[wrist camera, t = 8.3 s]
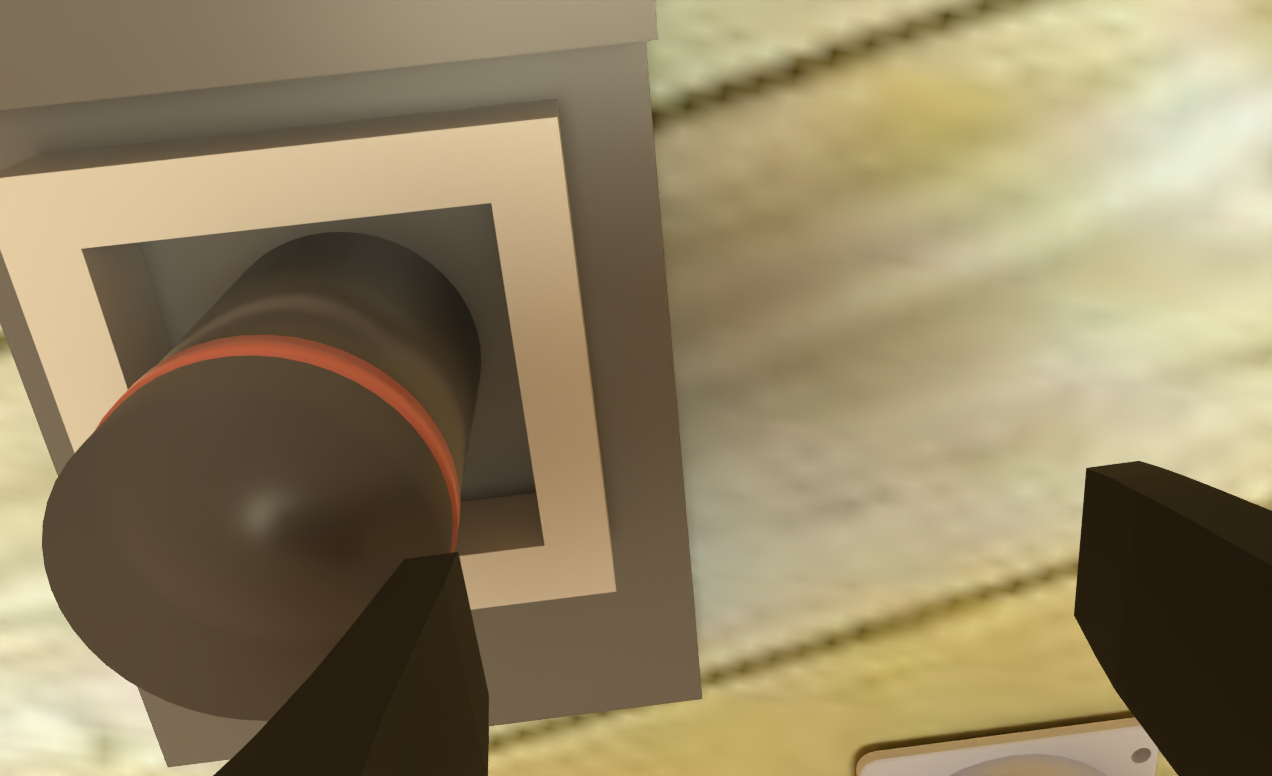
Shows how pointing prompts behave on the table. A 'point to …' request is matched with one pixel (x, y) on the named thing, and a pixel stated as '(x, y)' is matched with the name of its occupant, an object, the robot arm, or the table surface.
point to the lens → (269, 475)
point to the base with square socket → (404, 214)
